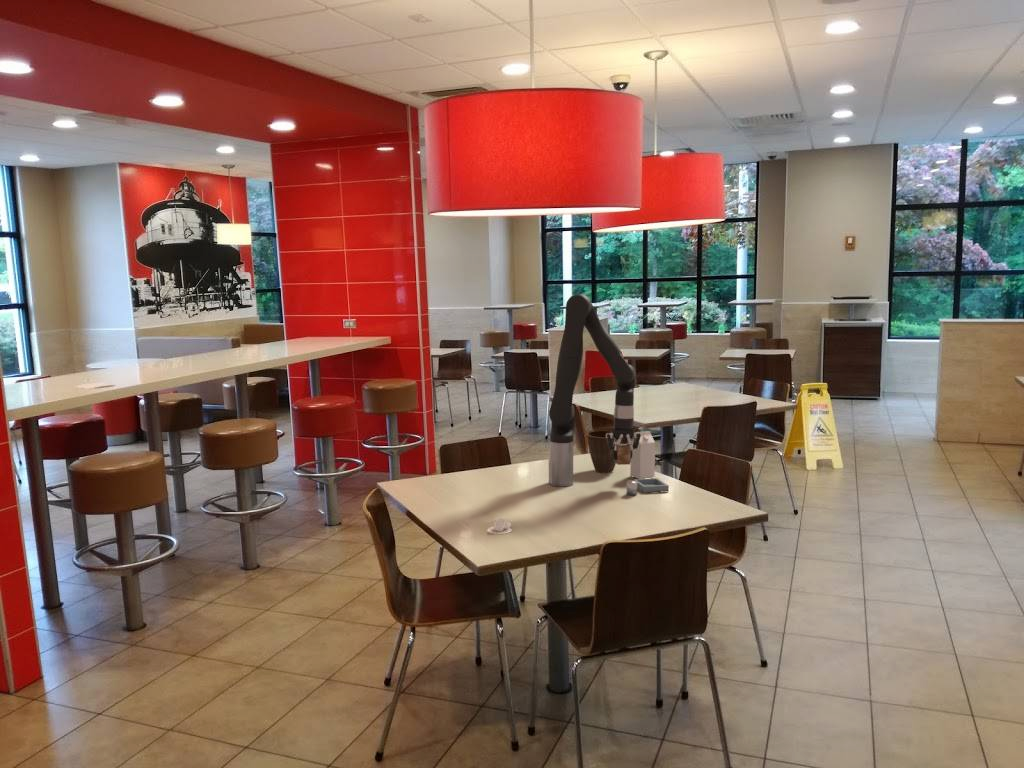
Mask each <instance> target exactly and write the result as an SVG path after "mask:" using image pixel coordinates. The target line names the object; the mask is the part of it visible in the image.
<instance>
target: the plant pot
mask: <svg viewBox="0 0 1024 768" xmlns="http://www.w3.org/2000/svg"><path fill="white" fill-rule="evenodd" d="M612 432H613V430H593V431H589V432H587V433H586V438H587V440H586V441H587V445H588V450H589V451H588V452H589V454H590V458H591V462H592V465H593V468H594V470H595V472H596V473H600V474H608V473H609V472H610V473H612V471H614V470H615V467H616V465H617V464H616V463H615V462H614V458H613V457H612V449H610V448H608V445H607V440H606V435H605V434H606V433H608V434H609V433H612ZM614 441H615V437H614V436H612V439H611V442H612V446H613V444H614ZM620 444H622V443H620ZM610 473H609V474H610Z"/></svg>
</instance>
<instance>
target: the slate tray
mask: <svg viewBox="0 0 1024 768" xmlns="http://www.w3.org/2000/svg"><path fill="white" fill-rule="evenodd" d="M632 481H637V488H638V489H639V490H638V489H637V490H638V491H640V490H641V491H642V492H641V491H640V492H641V493H643V494H651V493H650V492H659V493H662V492H661V491H669V489H670V488H669V487H670V486H669V485H668V484H667V483H665V482H664V481H663V480H661V479H659V478H658V477H657V478H655V477H654V478H651V479H636V478H635V479H633V480H632ZM669 492H670V491H669Z"/></svg>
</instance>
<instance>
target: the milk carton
mask: <svg viewBox="0 0 1024 768" xmlns="http://www.w3.org/2000/svg"><path fill="white" fill-rule="evenodd" d="M635 433H639V434H641V437H640V440H639V444H638V448H637V449H633V451H632V458H631V460H630V471H629V472H630V474H629V475H630V477H631V476H633V477H632V478H634V477H636V478H638V479H645V478H652V477H654V478H655V476H656V475H655V472H656V471H655V470H656V469H655V466H656V461H655V460H656V441H655V440H654V438H653V435H652V431H651V430H649V431H647V430H646V431H637V432H635ZM634 439H635V438H634V437H632V438H631V442H632V445H633V443H634ZM636 478H635V479H636Z"/></svg>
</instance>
